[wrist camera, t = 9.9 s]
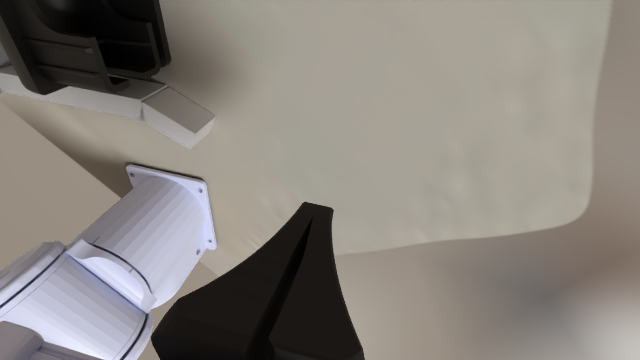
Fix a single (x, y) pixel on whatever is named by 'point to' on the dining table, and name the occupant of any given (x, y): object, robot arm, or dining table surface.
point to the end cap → (83, 42)
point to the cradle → (126, 104)
